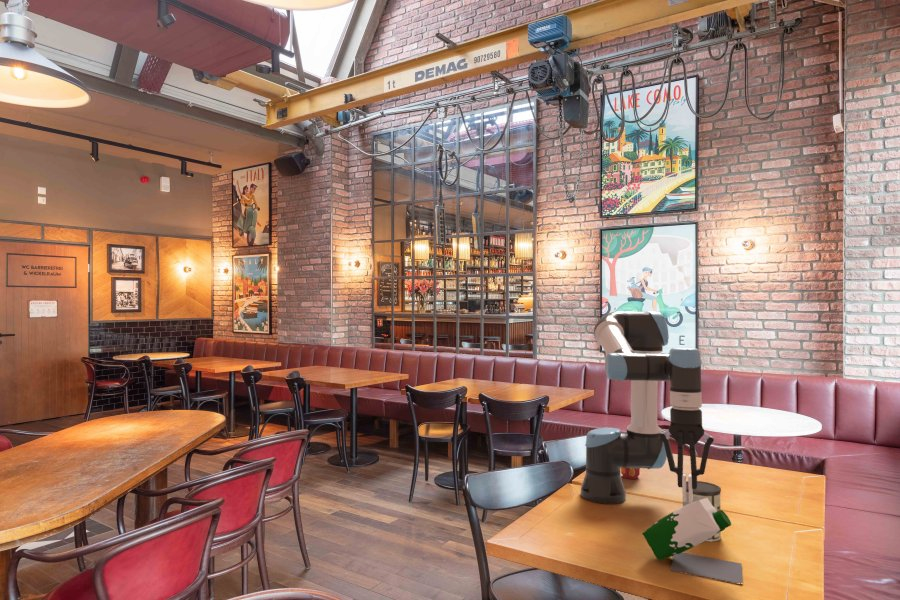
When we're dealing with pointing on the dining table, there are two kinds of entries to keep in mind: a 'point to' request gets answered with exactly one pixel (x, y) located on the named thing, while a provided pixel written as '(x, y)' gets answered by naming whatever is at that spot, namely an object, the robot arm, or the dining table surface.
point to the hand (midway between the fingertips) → (687, 500)
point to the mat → (707, 567)
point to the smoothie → (630, 472)
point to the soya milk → (685, 528)
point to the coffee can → (704, 492)
